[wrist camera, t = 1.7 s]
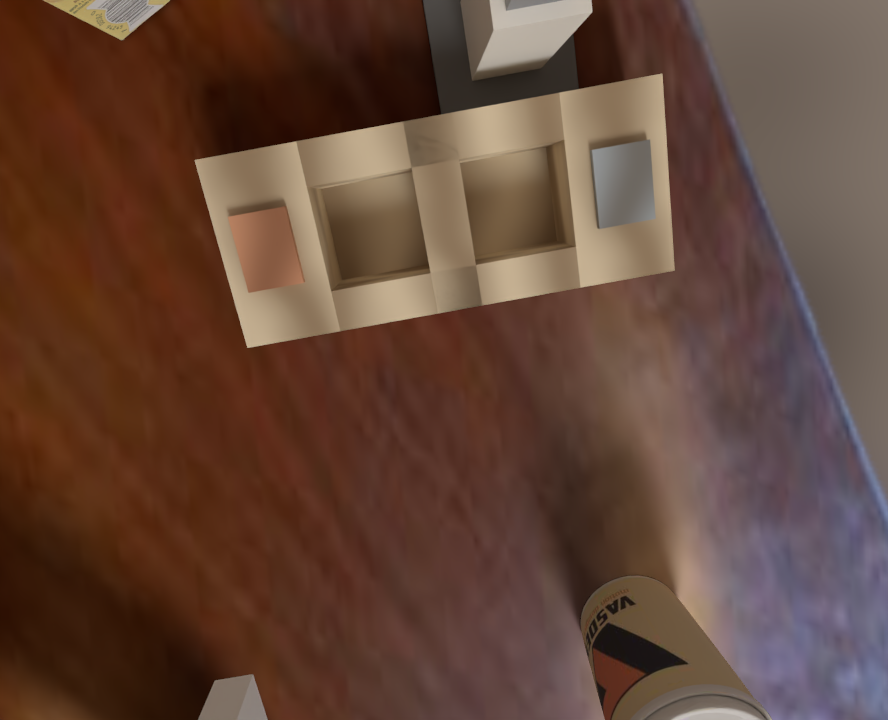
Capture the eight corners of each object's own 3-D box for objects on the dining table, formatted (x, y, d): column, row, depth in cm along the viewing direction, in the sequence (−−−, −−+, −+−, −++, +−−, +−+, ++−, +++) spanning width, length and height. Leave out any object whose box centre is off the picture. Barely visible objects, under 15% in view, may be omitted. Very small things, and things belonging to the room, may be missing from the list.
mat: (443, 126, 33) (443, 124, 33) (418, -29, 31) (417, -33, 31) (577, 101, 33) (579, 99, 33) (561, -55, 31) (563, -60, 30)
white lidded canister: (608, 547, 42) (679, 680, 30) (712, 591, 43) (819, 735, 32) (547, 642, 44) (592, 801, 32) (648, 682, 45) (726, 847, 34)
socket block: (270, 328, 36) (245, 349, 31) (227, 165, 34) (191, 159, 28) (640, 261, 36) (677, 271, 31) (627, 91, 33) (665, 71, 28)
